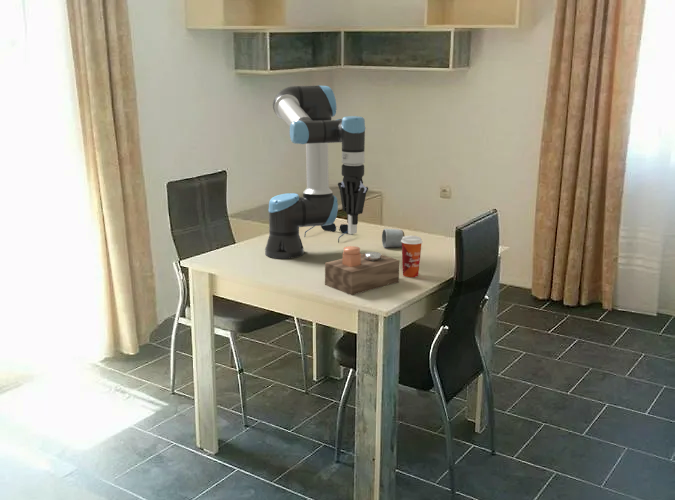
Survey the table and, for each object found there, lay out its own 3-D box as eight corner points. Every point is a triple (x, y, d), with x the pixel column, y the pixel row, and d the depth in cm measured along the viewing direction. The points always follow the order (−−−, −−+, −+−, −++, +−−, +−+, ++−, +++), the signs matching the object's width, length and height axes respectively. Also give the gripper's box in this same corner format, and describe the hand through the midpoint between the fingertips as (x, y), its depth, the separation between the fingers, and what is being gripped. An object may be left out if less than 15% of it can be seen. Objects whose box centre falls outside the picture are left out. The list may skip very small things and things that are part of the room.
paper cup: (406, 279, 274) (407, 241, 270) (396, 273, 281) (397, 236, 277) (425, 277, 277) (426, 239, 273) (415, 271, 284) (416, 234, 280)
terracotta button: (340, 269, 265) (340, 248, 263) (352, 266, 268) (352, 245, 266) (350, 273, 261) (351, 251, 259) (363, 270, 264) (363, 248, 262)
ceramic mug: (405, 248, 313) (405, 230, 311) (385, 249, 311) (386, 231, 309) (398, 242, 323) (398, 224, 321) (379, 243, 321) (379, 225, 319)
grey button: (361, 274, 272) (361, 253, 270) (373, 271, 276) (373, 251, 274) (372, 278, 268) (372, 257, 266) (384, 275, 272) (384, 254, 269)
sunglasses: (355, 236, 333) (355, 225, 331) (338, 248, 322) (338, 237, 320) (321, 230, 341) (320, 220, 340) (304, 242, 330) (303, 231, 328)
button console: (325, 284, 268) (325, 262, 265) (371, 272, 281) (372, 251, 279) (351, 295, 257) (351, 272, 255) (398, 282, 271) (399, 260, 269)
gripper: (331, 162, 257) (331, 231, 263) (357, 167, 247) (356, 238, 254) (348, 160, 262) (348, 228, 268) (374, 165, 252) (373, 235, 258)
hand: (352, 233), depth 261 cm, fingers closed
